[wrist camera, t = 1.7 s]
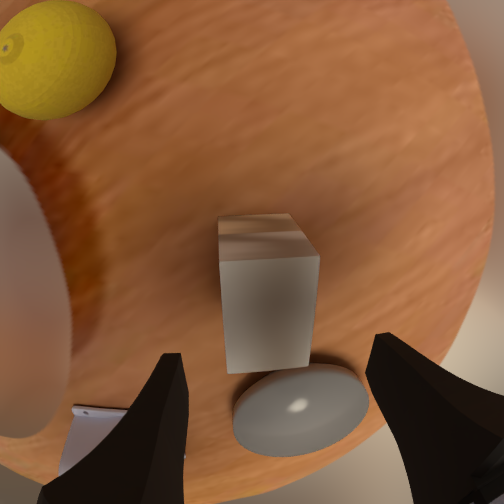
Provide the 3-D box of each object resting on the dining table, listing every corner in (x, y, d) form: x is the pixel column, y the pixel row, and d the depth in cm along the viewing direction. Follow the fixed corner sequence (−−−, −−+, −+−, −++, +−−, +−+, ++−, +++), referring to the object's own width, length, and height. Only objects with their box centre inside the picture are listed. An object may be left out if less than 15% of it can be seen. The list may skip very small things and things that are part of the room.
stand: (234, 441, 26) (236, 462, 24) (227, 360, 22) (229, 385, 20) (346, 425, 27) (353, 444, 25) (370, 343, 23) (383, 364, 21)
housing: (223, 307, 20) (227, 373, 15) (217, 216, 18) (219, 261, 12) (285, 303, 20) (308, 366, 15) (288, 213, 18) (320, 256, 13)
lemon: (30, 88, 13) (-61, 86, 6) (87, 11, 12) (17, -39, 5) (92, 137, 15) (9, 155, 8) (154, 56, 14) (107, 9, 6)
